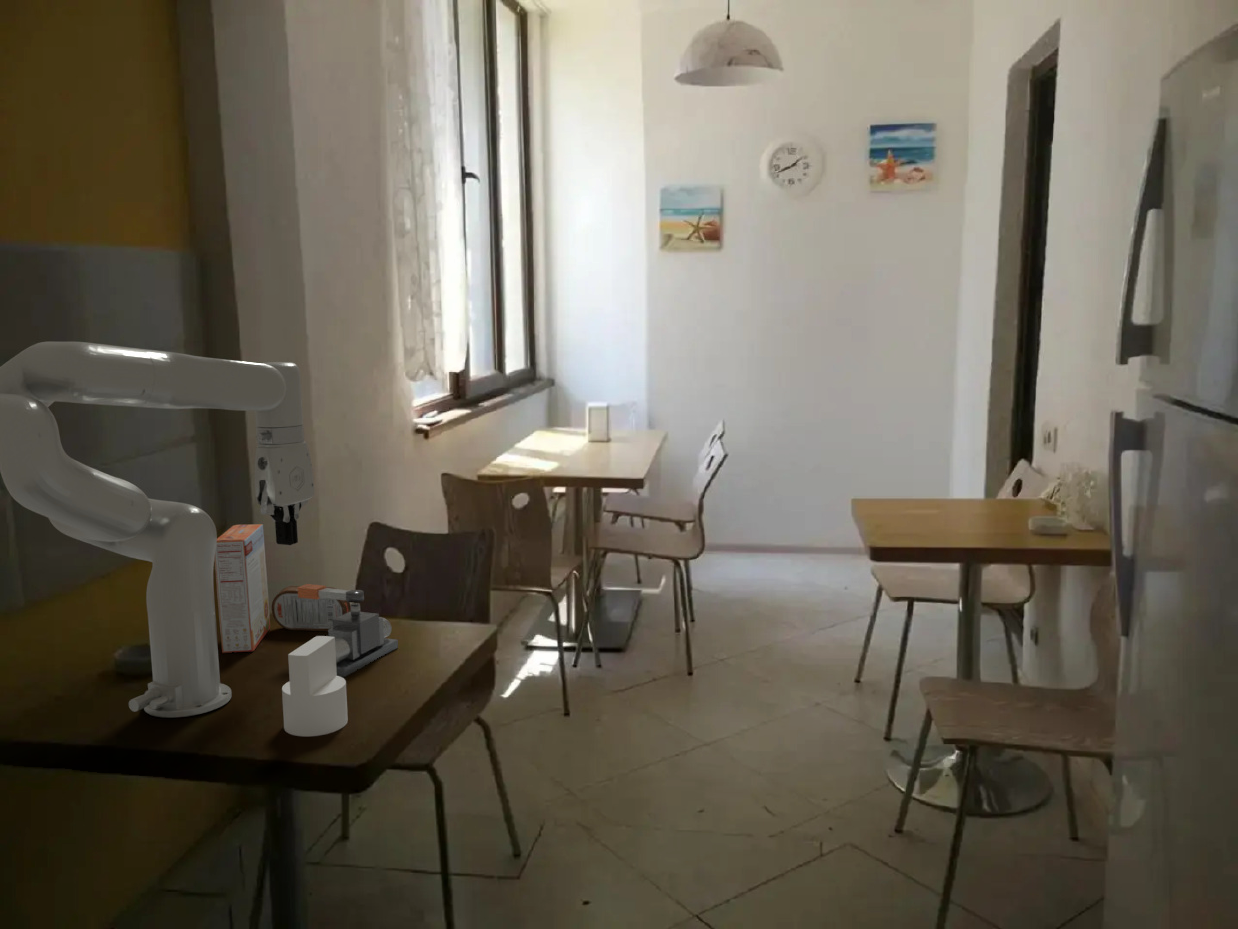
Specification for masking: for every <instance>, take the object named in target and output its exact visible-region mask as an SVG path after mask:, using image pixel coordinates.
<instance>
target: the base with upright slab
mask: <svg viewBox="0 0 1238 929" xmlns="http://www.w3.org/2000/svg"><path fill="white" fill-rule="evenodd" d="M287 656H288V658H287V659H288V661H287V662H288V674H289V675H288V676H289V681H287V682H286V683H285V684H283V685H282V687H281V694H282V698H281V700H282V712H283V714H282V715H283V730H284V731H285V732H286V733H288V734H289V735H291V736H297V737H319V736H323V735H328V734H331V733H334V732H337V731H340V730H341V729H343V728H344V727H345V726H346V725H348V720H349V718H348V701H347V700H348V698H347V680H346V679H345V678H344V677H341V676H337V671H336V651H335V637H330V636H329V635H326V636H325V635H316V636H315V637H313V638H311V639H310V640H308V641H307V642H305V643H304V644H302V645H300V646H299V647H297V648H296V649H294V650H293V651H291V652H290V653H288V654H287Z"/></svg>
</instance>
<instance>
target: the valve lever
mask: <svg viewBox="0 0 1238 929" xmlns="http://www.w3.org/2000/svg"><path fill="white" fill-rule="evenodd" d="M299 586H300V587H298V597H299V598H308V599H319V598H329V599H338V600H346V601H347V602H350V603H360V602H363V601H364V600H365V596H364V594H365V593H364V590H361V589H351V590H350V589H349V590H348V589H338V588H336V589H331V588H326V587H327V586H326V585H322V584H313V583H311V584H310V583H305V584H303V585H299Z"/></svg>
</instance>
